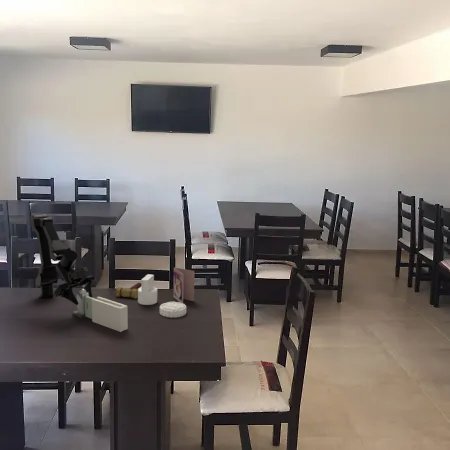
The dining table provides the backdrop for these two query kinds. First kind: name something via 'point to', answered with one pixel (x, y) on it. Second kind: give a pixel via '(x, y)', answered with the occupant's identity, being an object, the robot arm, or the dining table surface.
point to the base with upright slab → (147, 291)
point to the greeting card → (183, 284)
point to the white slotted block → (110, 314)
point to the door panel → (88, 306)
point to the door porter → (81, 303)
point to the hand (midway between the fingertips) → (84, 301)
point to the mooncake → (173, 309)
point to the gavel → (128, 291)
